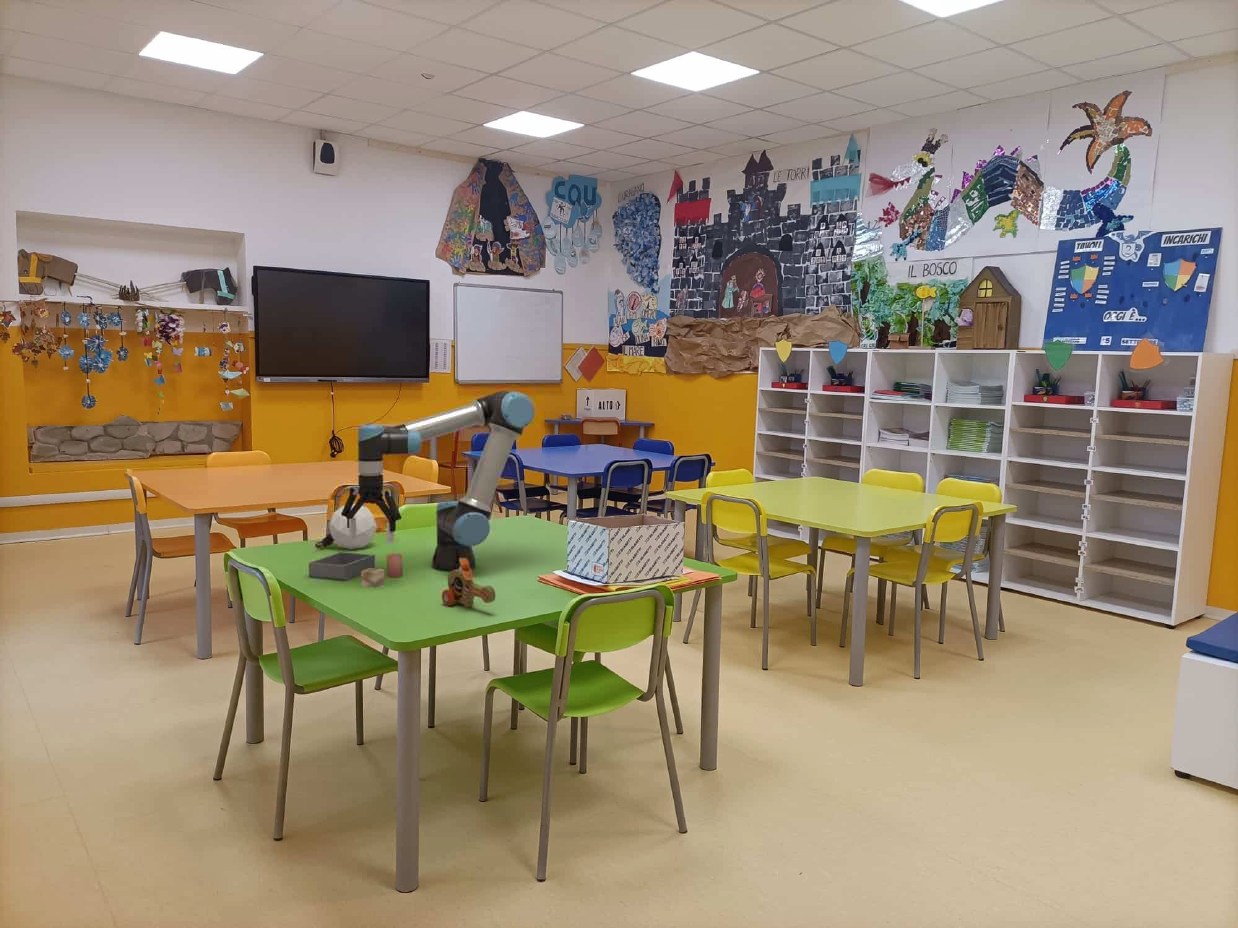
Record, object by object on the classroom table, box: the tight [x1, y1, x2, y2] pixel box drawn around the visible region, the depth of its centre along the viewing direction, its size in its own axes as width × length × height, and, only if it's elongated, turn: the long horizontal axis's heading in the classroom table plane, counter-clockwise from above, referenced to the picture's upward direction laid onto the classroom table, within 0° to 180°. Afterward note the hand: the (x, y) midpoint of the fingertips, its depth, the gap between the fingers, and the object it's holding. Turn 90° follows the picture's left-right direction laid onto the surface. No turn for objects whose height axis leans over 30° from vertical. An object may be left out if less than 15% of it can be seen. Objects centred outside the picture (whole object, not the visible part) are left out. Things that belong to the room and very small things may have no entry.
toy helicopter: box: [441, 558, 496, 608], centre depth 253 cm, size 8×21×14 cm, turn 46°
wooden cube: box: [360, 567, 385, 589], centre depth 277 cm, size 5×5×5 cm
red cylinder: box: [386, 553, 403, 579], centre depth 290 cm, size 5×5×7 cm
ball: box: [314, 495, 378, 551], centre depth 330 cm, size 17×25×24 cm
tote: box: [308, 551, 376, 582], centre depth 292 cm, size 18×14×5 cm
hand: (371, 540), depth 276 cm, fingers open, 13 cm apart
